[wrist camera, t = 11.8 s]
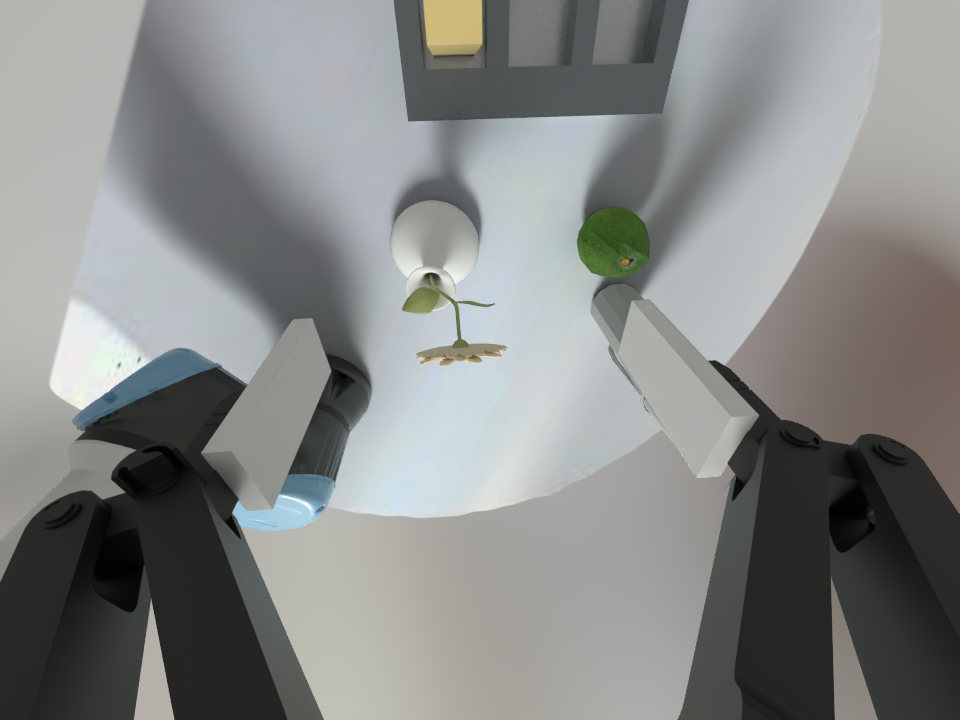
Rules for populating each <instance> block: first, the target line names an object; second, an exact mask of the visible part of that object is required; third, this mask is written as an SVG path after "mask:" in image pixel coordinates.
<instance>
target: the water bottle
mask: <svg viewBox="0 0 960 720" xmlns="http://www.w3.org/2000/svg"><path fill="white" fill-rule="evenodd" d="M633 300H644V299H643V298H642V297H641V296H640V295H639V293H638V292H637V291H636V290H635V289H634V288H632V287H630V286H628V285H626V284H624V283H623V284H612V285H610V286H608V287H606V288H605V289H603V290H601V291H600V292H599V293H598V294H597V296H596V297H595V298H594V300H593V301H592V306H591V314H592V316H593V317H594V319H595V321H596V323H597V324H598V326H599V327H600V329H601V331H602V332H603V334H604V336H605V337H606V339H607V340H608V342H609V346H608V350H609V353H610V356H611V358H612V360H613V361H614V362H615V364H616V365H617V366H618V368H619V369H620V370H621V371H622V373H623V374H624V375H625V376H626V378H627V379H628V380H629V381H630V383H631V384H632V385H633V386H634V388H635V389H636V390H637V391H638V393H639V394H640V395H641V399H640V403H641V406H642V409H643V410H644V411H645V412H646V413H647V414H648V415H651V416H653V418H654V419H655V420H656V422H657V423H658V424H659V425H660V427H661V428H662V429H663V431H664V432H665V433H666V434H667V436H668V437H669V438H670V439H671V437H670V436H669V434H668V432H667V431H666V429H665V428H664V426H663V424H662V423H661V421H660V420H659V418H658V417H657V415H656V413H655V412H654V410H653V409H652V407H651V405H650V404H649V402H648V401H647V399H646V398H645V396H644V394H643V393H642V391H641V390H640V388H639V386H638V385H637V383H636V382H635V380H634V379H633V377H632V375H631V374H630V372H629V371H628V369H627V367H626V366H625V364H624V363H623V361H622V360H621V358H620V356H619V355H618V352H619V348H620V344H621V340H622V336H623V332H624V328H625V325H626V321H627V317H628V313H629V309H630V305H631V302H632V301H633ZM613 350H614V351H613ZM614 352H615V353H616V355H617V357H618V358H619V360H620V361H621V363H622V365H623V366H624V367H623V366H622V365H621V364H620V362H619V361H618V360H617V358H616V356H615V354H614ZM624 368H625V369H626V370H625V369H624ZM644 400H645V402H646V406H647V408H648V410H649V411H648V410H647V409H646V407H645V405H644ZM671 441H672V442H673V440H672V439H671ZM673 443H674V442H673Z"/></svg>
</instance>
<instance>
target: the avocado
mask: <svg viewBox="0 0 960 720" xmlns="http://www.w3.org/2000/svg"><path fill="white" fill-rule="evenodd" d="M577 246H578V252H579V256H580V259H581V261H582V262H583V263H584V264H585V265H586V267H587V268H588V269H589V270H590V271H591V273H594V274H597V275H600V276H605V277H613V278H617V277H623V276H628V275H631V274H634V273H636V272H637V271H638V270H640V269H641V268H643V266H644V265H645V263H646V262H647V260H648V257H649V238H648V233H647V230H646V227H645V223H644V222H643V221H642V220H641V219H640V218H639V217H638V216H637V215H636V214H634V213H633V212H632V211H629V210H627V209H624V208H615V207H614V208H604V209H601V210H599V211H597V212H595V213H594V214H592V215H591V216H590V217H589V218H588V219H587V220H586V221H585V222H584V224H583V226H582V228H581V229H580V231H579V235H578V239H577Z"/></svg>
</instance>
